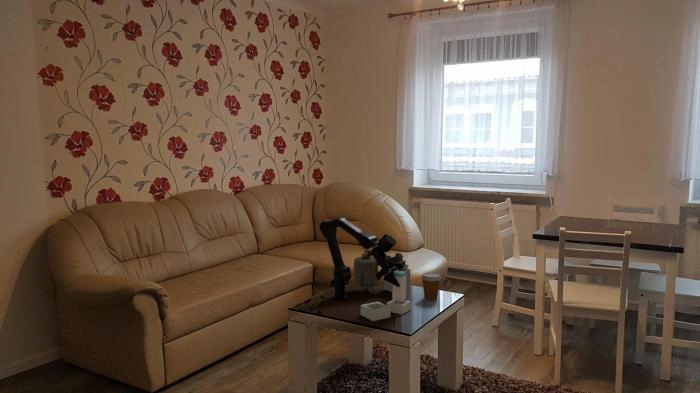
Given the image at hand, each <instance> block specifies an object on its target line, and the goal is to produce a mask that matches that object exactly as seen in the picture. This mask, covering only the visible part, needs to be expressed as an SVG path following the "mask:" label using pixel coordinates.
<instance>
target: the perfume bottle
mask: <svg viewBox="0 0 700 393" xmlns="http://www.w3.org/2000/svg"><path fill="white" fill-rule="evenodd" d="M400 262H401V261H400ZM402 262H404V263H405V264H406V263H407V262H406V260H404V259H403V261H402ZM394 266H395V265H394ZM402 271H404V272H406V298H408V297H409V296H411V268H409V264H406V265H405V266H404V267H403V269H402ZM392 294H393V284H392V292H391V295H392Z"/></svg>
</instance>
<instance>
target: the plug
mask: <svg viewBox="0 0 700 393" xmlns="http://www.w3.org/2000/svg"><path fill="white" fill-rule="evenodd" d="M394 276H395V278H396V279H397V281H398V283H399V284H400V287H397V286H395V285H393V294H392V293H391V298H392V300H398V301H402V300H406V298H407V297H406V272H404V271H395V272H394Z"/></svg>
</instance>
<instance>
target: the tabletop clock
mask: <svg viewBox="0 0 700 393" xmlns="http://www.w3.org/2000/svg"><path fill="white" fill-rule="evenodd" d="M363 249H364V248H363ZM369 250H370V248H369V249H364V252H363V253H362V254H361V256H357V257H355V258H354V260H353V280H354V282H355V283H356V285H358V286H360V287H361V288H360V289H359V290H360V292H361V293H363V292H364V288H366V289H370V290H371V294H373V295H375V293H376V291H375V290H374V289H373V287H378V284H379V280H377V278H376V274H377V273H378V272H379V266H377V264H378V263H377V262H376V260H375V259H374V258H373V256H369V257H367V254H368V251H369Z"/></svg>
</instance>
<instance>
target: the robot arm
mask: <svg viewBox="0 0 700 393" xmlns="http://www.w3.org/2000/svg"><path fill="white" fill-rule="evenodd" d="M318 227H319V230H320V233H321V235H322V236H323V237H324V238H325V239H326V242H327V246H328V251H329V252H330V256H331V260H332V262H333V263H332V264H333V265H334V266H333V279H331V281H330V282H329V285H330V287H331V288H333V294H331V297H332V298H333V299H334V300H336V301H337V300H346V299H349V298H348V296H347V295H346V286H347V285H348V284H349V282H350V281H351V279H352V275H353V274H352V272H351V267H350V266H346V264H345V263H344V260H343V256H342V253H341V250H340V246H339V242H338V239H337V231H338V228H341V229H342V230H343V231H344V232H346V233H347V234H349V235H350V236H352V237H353V239H354V238H355V240H356V241H357V242H358V244H359V245H360V246H361V247H362V248H363V249H365V250H366V249H367V251H368V249H369V251H368V252H367V253H368V254H367V257H369V256H372V257H373V258H374V259H375V260H376V262H377V263H378V264H377V266H378V267H379V268H380V270H378V273H377V274H376V278H377V280H378V281H381V280H383V281H384V280H385V281H387V282H390V283H392V284H393V285H395V286H397V287H400V284H399V283H398V281H397V279H396V278H395V276H394V272H395V271H402V269H403V267H404V266H405V265H406V263H404V262H402V261H403V260H404V259H403V258H404V255H403V253H401V252H399V251H398V252H396V253H395V255H394V256H391V255H387V253H389V252H390V251H391V249H393V248H394V247H395V246H396V245H397V241H396V239H395V238H394V237H393V236H391V235H389V234H388V233H385V234H384V235H382V237H381V238H377V236H375V235H373V234H372V233H368V232H366V231H365V232H364V231H363V230H361V229H360V228H358V227H357V226H356V225H355V224H352V222H350V221H348V220H347V219H346V218H345V217H339V218H336V219H328V220H322V221H321V222H320V224H319V225H318ZM400 261H401V262H400ZM394 265H395V266H394Z"/></svg>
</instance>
